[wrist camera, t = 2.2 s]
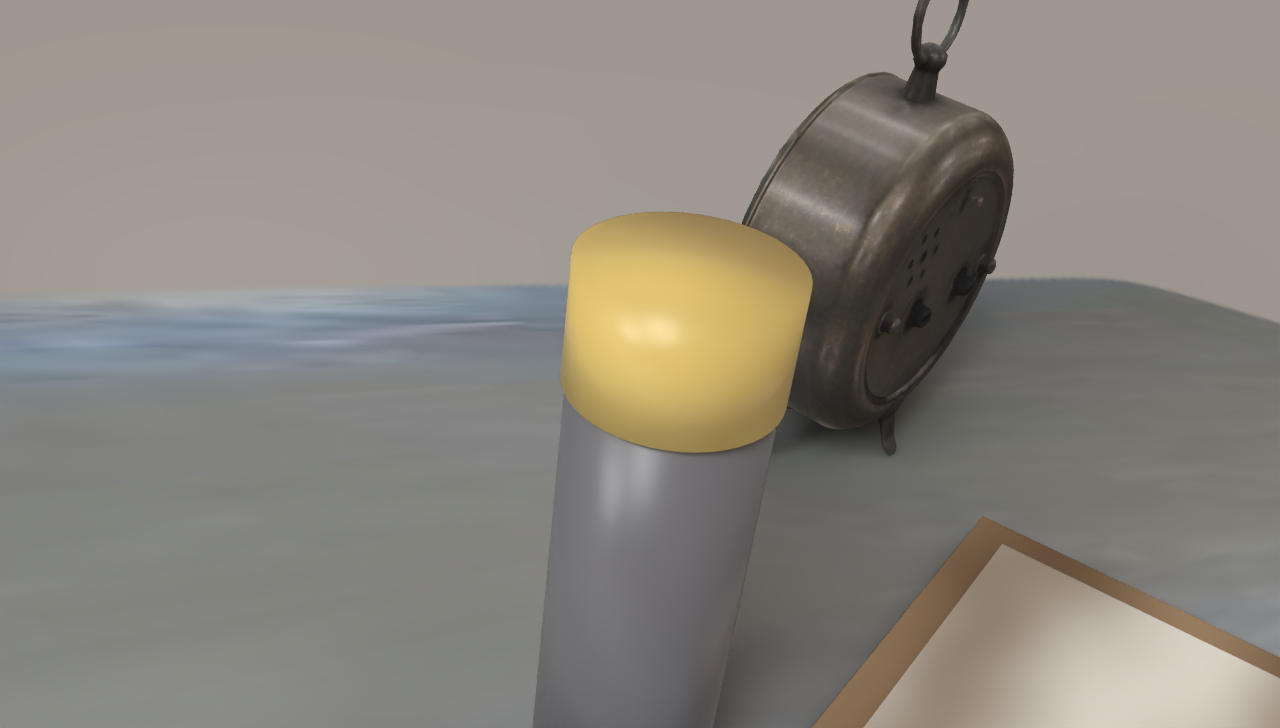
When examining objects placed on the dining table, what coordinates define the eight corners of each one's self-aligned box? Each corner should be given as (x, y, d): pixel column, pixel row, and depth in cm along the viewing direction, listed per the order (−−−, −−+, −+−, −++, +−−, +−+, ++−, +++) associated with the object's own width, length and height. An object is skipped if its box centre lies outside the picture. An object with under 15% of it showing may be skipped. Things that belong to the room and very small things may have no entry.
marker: (486, 785, 27) (520, 259, 20) (597, 681, 30) (663, 192, 23) (633, 893, 25) (729, 354, 18) (737, 771, 28) (855, 268, 21)
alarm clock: (853, 343, 46) (957, -90, 38) (977, 402, 44) (1120, -50, 35) (681, 454, 39) (764, -56, 30) (820, 534, 36) (953, -1, 28)
